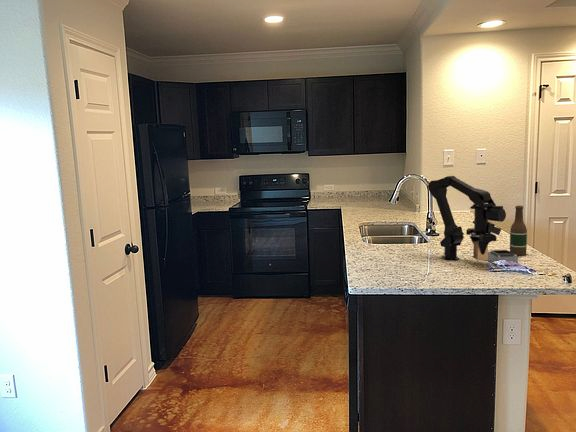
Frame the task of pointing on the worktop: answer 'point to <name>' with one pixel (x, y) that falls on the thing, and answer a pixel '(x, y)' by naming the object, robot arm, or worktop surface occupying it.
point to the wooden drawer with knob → (479, 252)
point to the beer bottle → (518, 234)
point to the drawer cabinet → (502, 256)
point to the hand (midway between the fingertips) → (480, 253)
